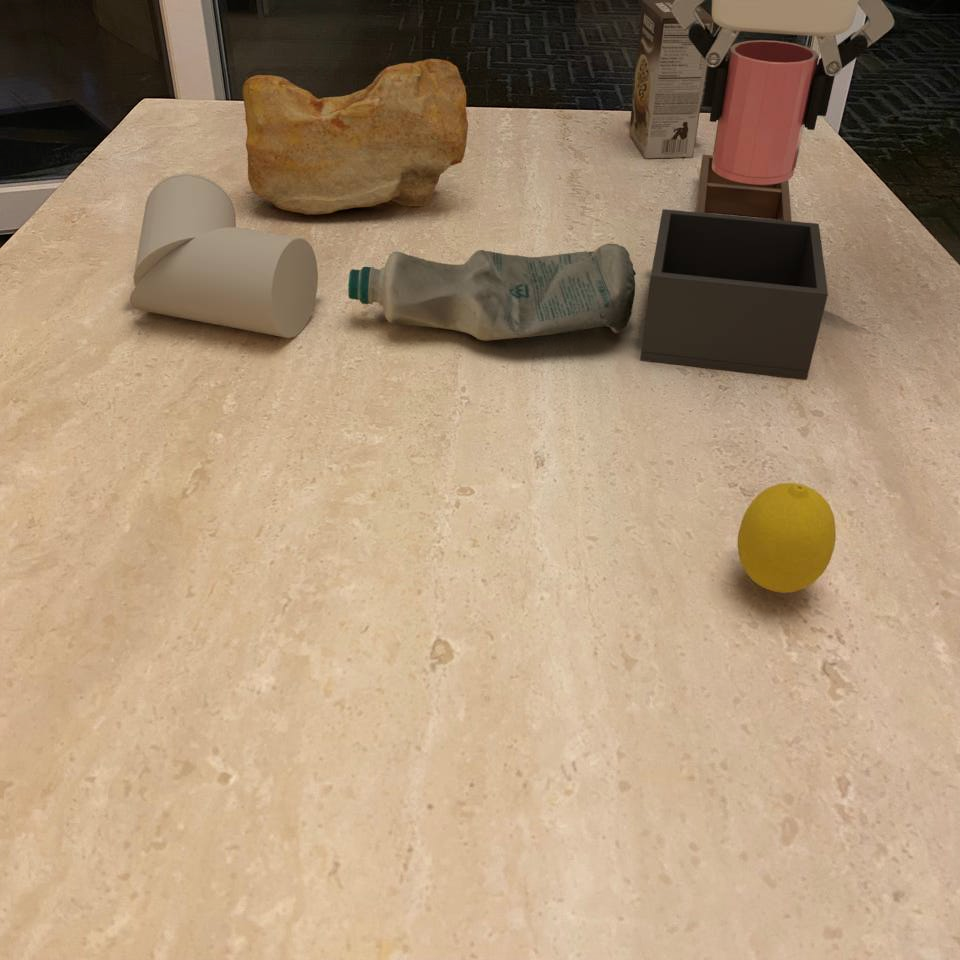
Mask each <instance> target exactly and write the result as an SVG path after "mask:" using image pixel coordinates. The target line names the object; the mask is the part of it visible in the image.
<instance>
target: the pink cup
mask: <svg viewBox="0 0 960 960" xmlns="http://www.w3.org/2000/svg"><path fill="white" fill-rule="evenodd" d="M727 55H728V56H727V61H728V62H727V74H726V80H725V86H724V93H723V99H722V105H721V111H720V118H719V120H717V124H716V125H717V126H716V132H715V138H714V144H713V151H712V155H713V160H712V169H713V171H714V172H715V173H716V174H718V175H719V176H721V177H723V178H726V179H728V180H732V181H735V182H739V183H745V184H754V185H770V184H778V183H782V182H785V181H787V180H788V181H789V180H791V179H792V177H793V176H794V173H795V169H796V168H797V167H796V166H797V161H798V156H799V153H800V147H801V143H802V138H803V133H804V129H805V125H804V124H805V119H806V114H807V109H808V105H809V100H810V95H811V90H812V85H813V81H814V76H815V72H816V67H817V64H818V62H819V59H820V55H819V54H818V52H817V51H816V50H814V49H812V48H811V47H808V46H806V45H802V44H798V43H795V42H788V41H780V40H766V39H765V40H763V39H759V40H757V39H756V40H746V41H741V42H737V43H733V44H732V45H731V47H730V49H729V50H728V54H727Z"/></svg>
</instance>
